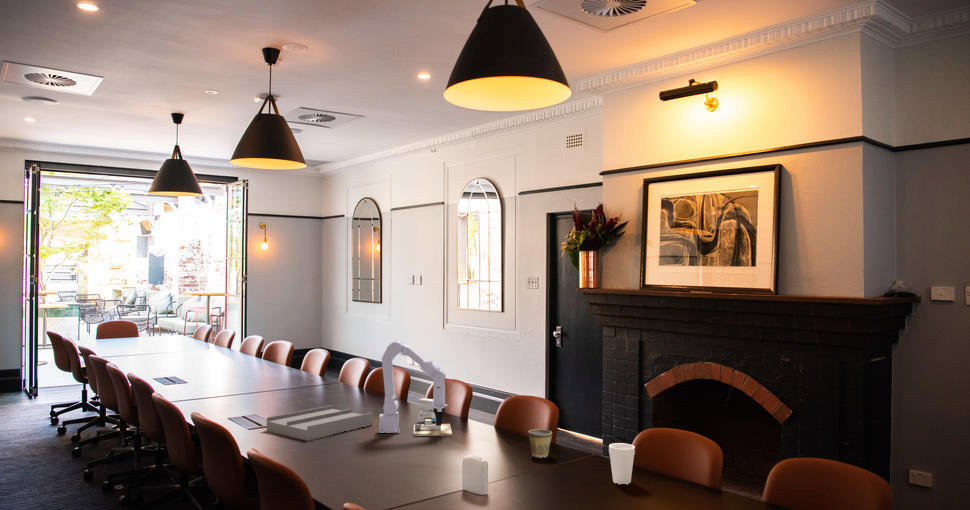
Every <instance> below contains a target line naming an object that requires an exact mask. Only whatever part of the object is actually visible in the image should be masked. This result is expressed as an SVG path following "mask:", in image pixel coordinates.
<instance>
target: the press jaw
mask: <svg viewBox="0 0 970 510" xmlns="http://www.w3.org/2000/svg"><path fill="white" fill-rule="evenodd" d="M425 425H431V419H425Z"/></svg>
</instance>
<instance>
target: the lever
mask: <svg viewBox="0 0 970 510" xmlns="http://www.w3.org/2000/svg"><path fill="white" fill-rule="evenodd" d="M421 424H422V423H415V430H417V431H419V430H441V425H442V424H443V423H442V424H441V425H437V423H436V422H435V424H436V425H421Z"/></svg>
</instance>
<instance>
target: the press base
mask: <svg viewBox="0 0 970 510" xmlns="http://www.w3.org/2000/svg"><path fill="white" fill-rule="evenodd" d="M425 419H431V425H436V423H432V417H424V423H423V424H422V423H420V424H421V425H425ZM415 424H416V423H415ZM415 424H413V436H414V435H452V436H453V432H452V427H451V423H442V425H441V430H419V431H417V430H415Z"/></svg>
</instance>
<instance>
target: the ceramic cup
mask: <svg viewBox="0 0 970 510" xmlns="http://www.w3.org/2000/svg"><path fill="white" fill-rule="evenodd" d="M552 436H553V432H552V431H551V430H549V429H543V428H541V429H540V428H536V429H530V430H528V437H529V438H528V439H529V443H530V448H531V449H530V450H531V457H534V458H537V457H538V459H541V458H542V459H543V457H544V458H547V457H548V455H549V452H550V451H549V450H550V444H551V441H552Z"/></svg>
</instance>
